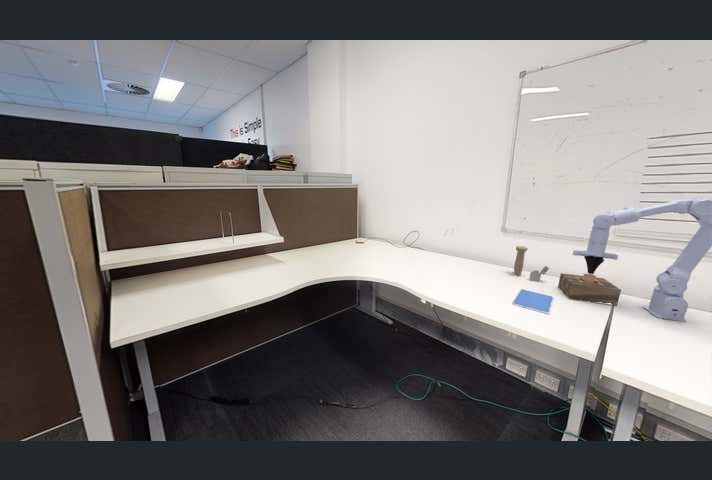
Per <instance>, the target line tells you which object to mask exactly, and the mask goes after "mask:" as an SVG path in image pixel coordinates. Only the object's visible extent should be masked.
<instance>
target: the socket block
mask: <svg viewBox="0 0 712 480" xmlns="http://www.w3.org/2000/svg"><path fill="white" fill-rule="evenodd" d="M583 276H584V275H578V274H570V273H561V272H560V275H559V281H558V285H557V288H558V289H559V290H560V291H561V292H562V293H563V294H564V295H565V296H566V298H568V299H569V300H575V301H580V300H582V302H587V301H590V302H589V303H594V302H602V303H611V304H612V305H611V306H615V307H617V306H618V304H619V301H620V300H619V299H620V296H621V292H622V289H620V288H619V287H617V286H616V285H614V284H612V283H611V282H610V281H608V280H607V279H605V278H603V277H598V276H596V279H595V283H587V282H583V281H582V280H583Z"/></svg>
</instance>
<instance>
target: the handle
mask: <svg viewBox="0 0 712 480" xmlns="http://www.w3.org/2000/svg"><path fill="white" fill-rule="evenodd" d="M515 250H516V251H517V253H516V255H515V256H516V257H515V261H514V267H513V271H514V272H513V275H515V276H521V275H522V272H523V267H524V264H525V263H524V261H525V254H526V253H525V252H527V251H528V247H526V246H524V245H523V246H522V245H516V246H515Z"/></svg>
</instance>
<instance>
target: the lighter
mask: <svg viewBox="0 0 712 480" xmlns="http://www.w3.org/2000/svg"><path fill="white" fill-rule="evenodd" d="M549 269H550V267H549V266H547V265H544V267H543V268H542V269H541V270H540V271H539V270H535V269H534V270H533V271H530V275H529V281H531V282H541V278H542V275H543V276H544V275H546V273H547V272H548V271H549Z"/></svg>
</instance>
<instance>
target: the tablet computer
mask: <svg viewBox="0 0 712 480" xmlns="http://www.w3.org/2000/svg"><path fill="white" fill-rule="evenodd" d="M554 300H555V298H554V296H551V295H548V294H543V293H540V292H537V291H536V292H535V291H531V290H526V289H520V290H519V291H518V293H516V296H515V298H514V299H513V300H512V302H511V305H513V306H517V307H519V308H524V309H527V310H531V311H532V312H533V311H534V312H537V313H541V314H545V315H550V314H551V309H552V307H553V303H554Z"/></svg>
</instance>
